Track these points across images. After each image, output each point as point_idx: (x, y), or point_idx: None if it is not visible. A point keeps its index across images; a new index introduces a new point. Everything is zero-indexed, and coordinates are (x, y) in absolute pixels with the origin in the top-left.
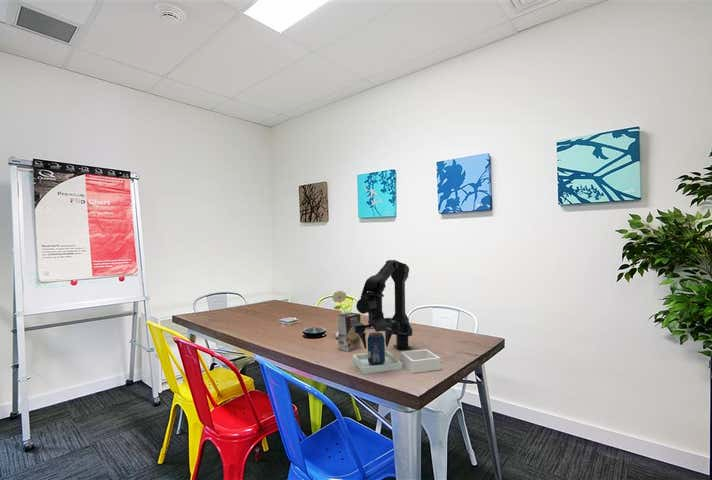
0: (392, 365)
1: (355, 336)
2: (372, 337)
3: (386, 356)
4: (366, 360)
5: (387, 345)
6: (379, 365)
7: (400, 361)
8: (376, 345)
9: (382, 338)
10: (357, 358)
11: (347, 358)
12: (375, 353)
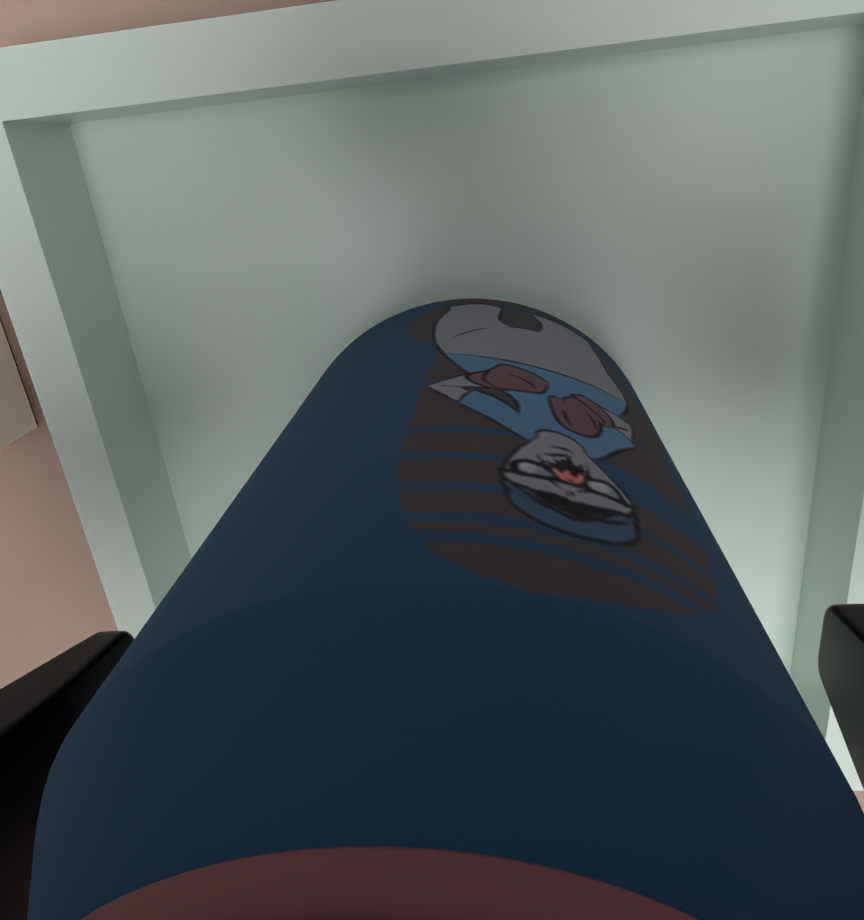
0: (181, 27)
1: None
2: (771, 912)
3: None
4: None
5: (87, 644)
6: (520, 3)
7: (15, 423)
8: (526, 471)
9: (109, 751)
10: (856, 601)
11: (860, 806)
12: (551, 374)
